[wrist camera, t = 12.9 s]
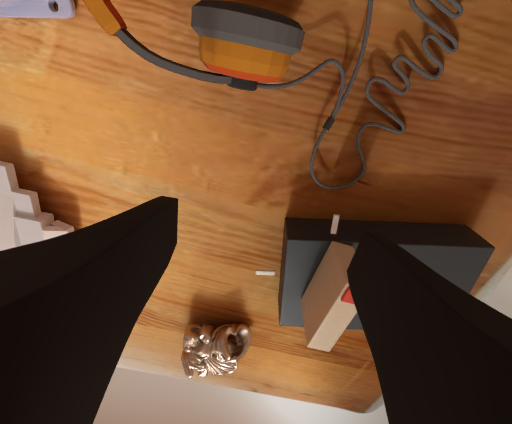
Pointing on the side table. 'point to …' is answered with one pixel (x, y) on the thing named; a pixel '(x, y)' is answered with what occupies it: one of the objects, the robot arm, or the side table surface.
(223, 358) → the ornament
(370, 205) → the side table surface
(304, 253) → the panel
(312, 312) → the handle
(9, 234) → the toy rocket
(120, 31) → the headphones
